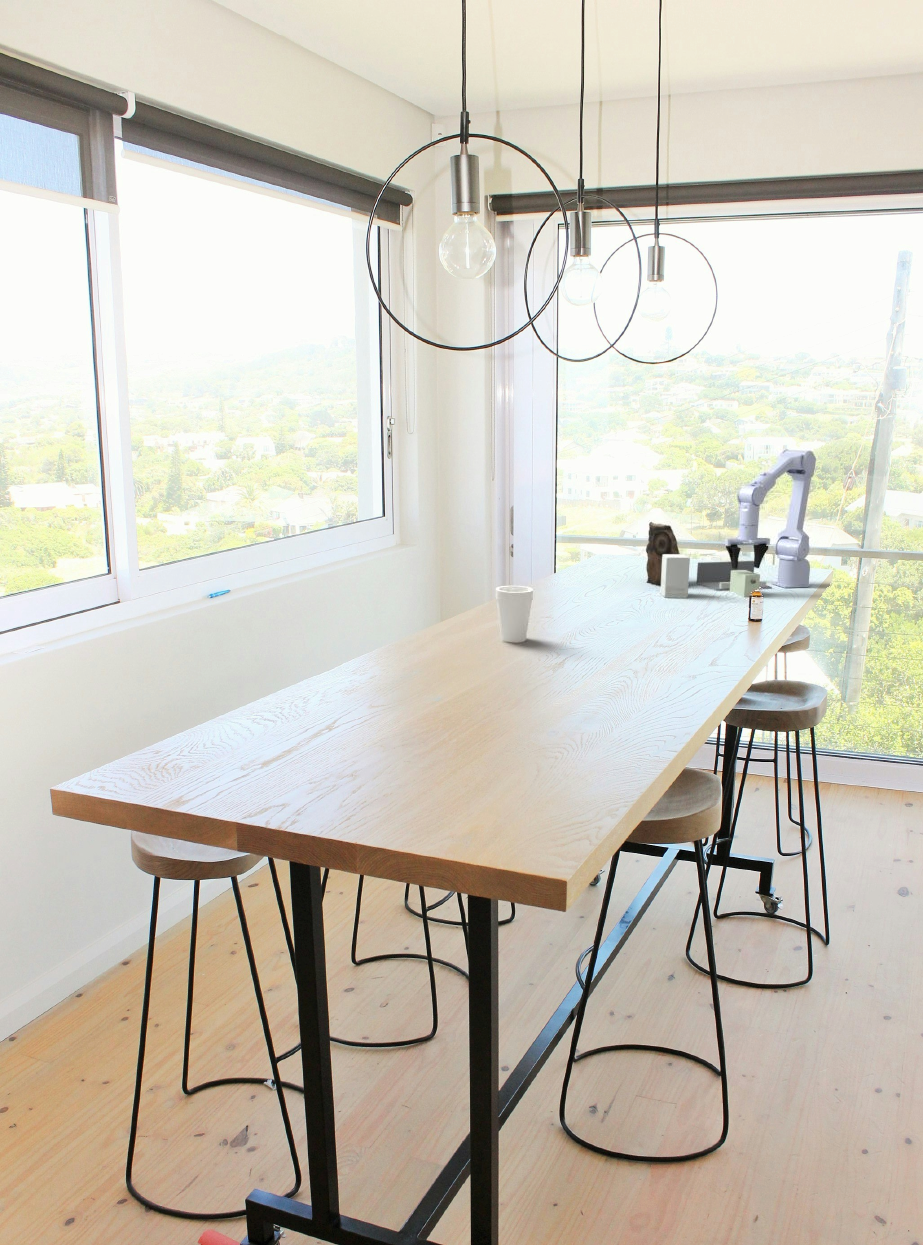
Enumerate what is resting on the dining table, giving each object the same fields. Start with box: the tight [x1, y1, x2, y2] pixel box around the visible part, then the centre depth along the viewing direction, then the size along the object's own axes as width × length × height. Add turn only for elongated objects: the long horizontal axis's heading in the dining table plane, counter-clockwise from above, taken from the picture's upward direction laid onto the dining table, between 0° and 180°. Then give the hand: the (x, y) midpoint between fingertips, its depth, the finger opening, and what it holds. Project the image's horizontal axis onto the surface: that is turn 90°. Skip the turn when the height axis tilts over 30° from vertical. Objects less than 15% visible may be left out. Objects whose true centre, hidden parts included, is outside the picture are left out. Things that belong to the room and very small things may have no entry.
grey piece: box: [696, 560, 772, 591], centre depth 334 cm, size 20×13×7 cm, turn 104°
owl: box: [645, 521, 680, 587], centre depth 335 cm, size 13×13×20 cm
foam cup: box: [495, 585, 534, 643], centre depth 257 cm, size 10×9×13 cm
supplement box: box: [659, 553, 691, 599], centre depth 315 cm, size 7×7×13 cm
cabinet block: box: [729, 570, 761, 598], centre depth 319 cm, size 5×10×7 cm, turn 14°
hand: (745, 568), depth 319 cm, fingers open, 7 cm apart
